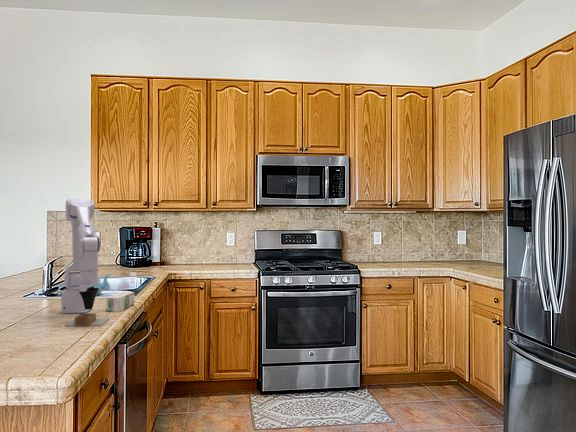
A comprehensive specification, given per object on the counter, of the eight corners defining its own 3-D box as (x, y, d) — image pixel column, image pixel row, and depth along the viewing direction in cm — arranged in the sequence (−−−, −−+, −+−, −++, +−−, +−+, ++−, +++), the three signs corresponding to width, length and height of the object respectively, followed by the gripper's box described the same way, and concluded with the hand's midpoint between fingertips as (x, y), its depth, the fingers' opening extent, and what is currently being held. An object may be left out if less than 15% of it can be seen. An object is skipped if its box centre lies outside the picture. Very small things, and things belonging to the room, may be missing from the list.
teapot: (63, 296, 222) (63, 274, 222) (87, 291, 236) (88, 271, 236) (87, 298, 216) (87, 276, 216) (111, 293, 230) (111, 272, 230)
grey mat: (64, 326, 162) (64, 325, 162) (74, 319, 171) (74, 318, 171) (101, 325, 163) (101, 324, 163) (109, 319, 173) (109, 318, 173)
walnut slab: (81, 320, 169) (74, 325, 162) (81, 313, 169) (74, 317, 162) (95, 320, 169) (89, 324, 162) (95, 313, 169) (89, 317, 162)
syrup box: (121, 291, 202) (104, 297, 187) (135, 291, 201) (119, 297, 186) (121, 304, 202) (104, 311, 187) (134, 305, 201) (118, 312, 186)
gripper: (94, 273, 161) (94, 313, 161) (106, 268, 176) (106, 305, 176) (72, 273, 161) (72, 313, 161) (86, 268, 175) (86, 305, 175)
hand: (88, 309), depth 168 cm, fingers closed
